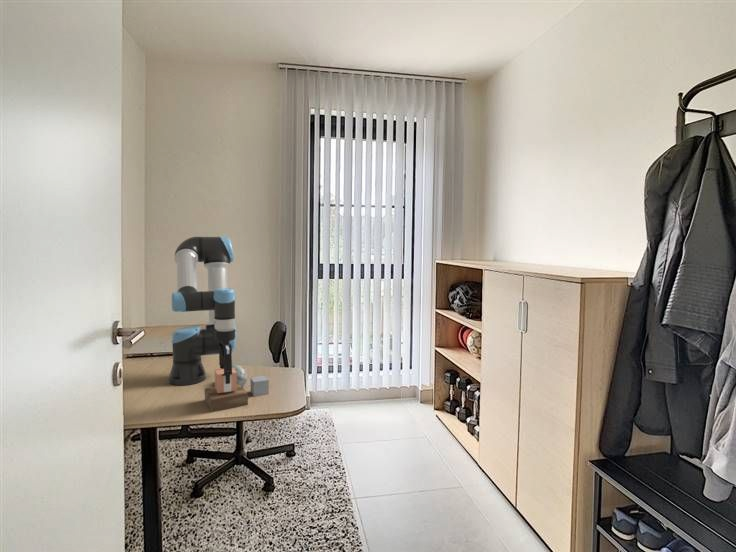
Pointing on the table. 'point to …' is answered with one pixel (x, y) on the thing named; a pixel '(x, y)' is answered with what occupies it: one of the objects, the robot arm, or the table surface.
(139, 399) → the table surface
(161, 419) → the table surface
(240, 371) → the yarn skein
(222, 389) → the terracotta cube
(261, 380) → the grey cube
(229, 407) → the walnut block
